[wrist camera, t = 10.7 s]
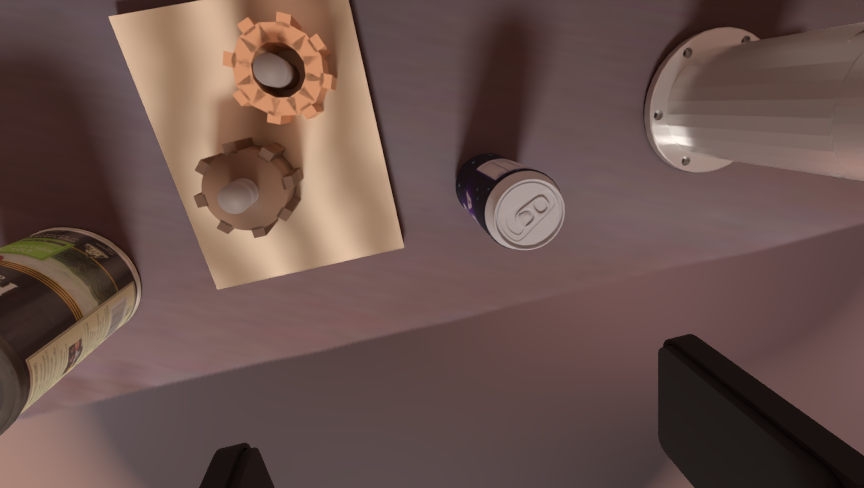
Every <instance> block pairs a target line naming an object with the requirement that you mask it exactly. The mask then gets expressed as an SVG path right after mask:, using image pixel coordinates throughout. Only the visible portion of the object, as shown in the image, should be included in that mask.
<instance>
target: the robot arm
mask: <svg viewBox="0 0 864 488" xmlns="http://www.w3.org/2000/svg"><path fill="white" fill-rule="evenodd" d="M644 122H645V128H646V134H647V136H648V139H649V142H650V144H651V146H652V148H653V149H654V151H655V152H656V154H657V155H658V156H659V157H660V158H661V159H662V160H663V161H664V162H666V163H667V164H669V165H671V166H672V167H675V168H678V169H681V170H685V171H691V172H708V171H712V170H717V169H719V168H722V167H724V166H727V165H729V164H730V163H732V162H733V161H737V162H744V163H750V164H756V165H763V166H769V167H776V168H782V169H789V170H795V171H802V172H808V173H814V174H821V175H827V176H834V177H840V178H847V179H854V180H861V181H864V22H863V23H857V24H851V25H845V26H839V27H833V28H827V29H822V30H816V31H810V32H804V33H798V34H792V35H786V36H780V37H774V38H768V39H762V40H760V39H759V38H758V37H756V36H755V35H754V34H753V33H750V32H748V31H746V30H743V29H740V28H734V27H722V28H714V29H710V30H706V31H703V32H700V33H698V34H696V35H693V36H691V37H689V38H688V39H686V40H685V41H683V42H682V43H680V44H679V45H678V46H677V47H676V48H675V49H674V50H673V51H672V52H670V53H669V54H668V56H667V57H666V58H665V60H664V61H663V62H662V63H661V65H660V66H659V68H658V70H657V71H656V73H655V75H654V77H653V79H652V81H651V84H650V87H649V90H648V92H647V97H646V102H645V111H644ZM658 436H659V441H660V444H661V446H662V448H663V450H664V451H665V453H666V454H667V455H668V457H669V458H670V459H671V460H672V461H673V463H674V464H675V465H676V466H677V467H678V468H679V470H680V471H681V472H682V473H683V474H684V476H685V477H686V478H687V479H688V480H689V482H690V483H691V484H692V485H693V486H694V487H695V488H864V456H863V455H862V454H860V453H859V452H858V451H856V450H855V449H853V448H852V447H850V446H849V445H848V444H846V443H845V442H844V441H842V440H841V439H839V438H838V437H837V436H835V435H834V434H832V433H831V432H829V431H828V430H827V429H825V428H824V427H823V426H821V425H820V424H818V423H817V422H816V421H814V420H813V419H811V418H810V417H809V416H807V415H806V414H804V413H803V412H802V411H800V410H799V409H797V408H796V407H795V406H793V405H792V404H790V403H789V402H788V401H786V400H785V399H783V398H782V397H781V396H779V395H778V394H776V393H775V392H774V391H772V390H771V389H769V388H768V387H767V386H765V385H764V384H762V383H761V382H760V381H758V380H757V379H755V378H754V377H753V376H751V375H750V374H748V373H747V372H746V371H744V370H743V369H741V368H740V367H739V366H737V365H736V364H734V363H733V362H732V361H730V360H729V359H727V358H726V357H725V356H723V355H722V354H720V353H719V352H718V351H716V350H715V349H713V348H712V347H711V346H709V345H708V344H706V343H705V342H704V341H702V340H701V339H699V338H698V337H697V336H695V335H692V334H688V335H684V336H680V337H675V338H672V339H668V340H666V341H665V342H664V344H663V347H662V348H660V349H659V352H658ZM199 488H274V485H273V483H272V481H271V478H270V476H269V473H268V471H267V468H266V466H265V464H264V461H263V459H262V457H261V454H260V452H259V450H258V449H257V448H251V447H250V446H249V444H247V443H242V444H237V445H234V446H229V447H226V448H221V449H219V450H217V451H216V453H215V454H214V457H213V458H212V461H211V463H210V465H209V467H208V469H207V472H206V474H205V476H204V478H203V481H202V483H201V485H200V487H199Z"/></svg>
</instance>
